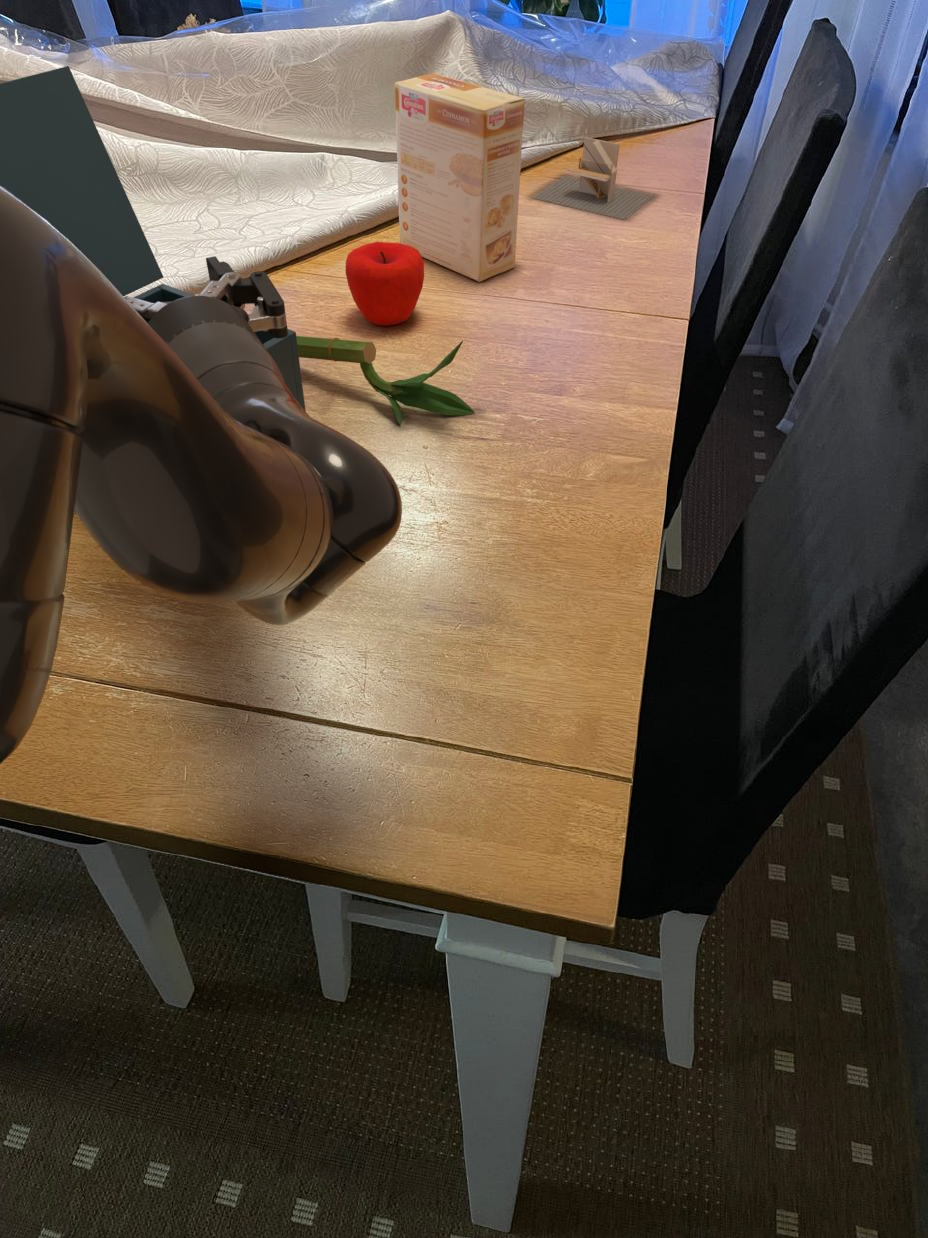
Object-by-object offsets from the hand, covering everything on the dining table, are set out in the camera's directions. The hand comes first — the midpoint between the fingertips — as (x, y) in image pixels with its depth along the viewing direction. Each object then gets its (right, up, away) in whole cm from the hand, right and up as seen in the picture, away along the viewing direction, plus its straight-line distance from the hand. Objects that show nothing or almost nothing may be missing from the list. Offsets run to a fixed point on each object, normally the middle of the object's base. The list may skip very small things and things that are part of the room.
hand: (156, 278), depth 66 cm
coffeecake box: (+22, +22, +49) cm, 58 cm away
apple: (+14, +10, +37) cm, 41 cm away
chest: (-1, -12, +15) cm, 19 cm away
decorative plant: (+10, -1, +26) cm, 28 cm away
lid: (-9, +7, +3) cm, 12 cm away
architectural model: (+43, +37, +65) cm, 86 cm away
